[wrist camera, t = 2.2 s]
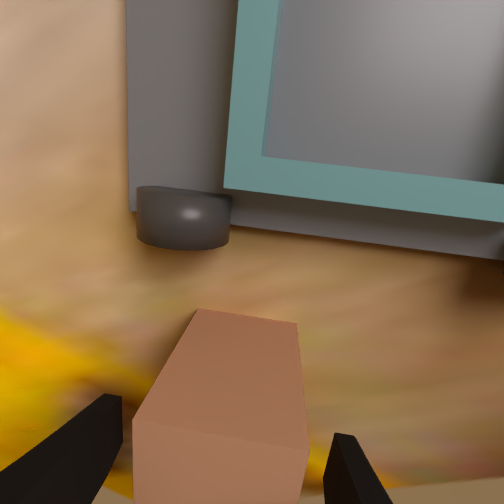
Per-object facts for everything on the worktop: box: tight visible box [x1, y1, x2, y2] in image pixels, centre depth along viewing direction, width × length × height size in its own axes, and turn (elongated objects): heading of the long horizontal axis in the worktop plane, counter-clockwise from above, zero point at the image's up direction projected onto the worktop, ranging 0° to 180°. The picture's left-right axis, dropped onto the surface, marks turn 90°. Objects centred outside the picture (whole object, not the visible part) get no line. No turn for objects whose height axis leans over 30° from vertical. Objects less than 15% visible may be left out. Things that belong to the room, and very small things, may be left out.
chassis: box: [126, 0, 504, 275], centre depth 8 cm, size 18×14×3 cm
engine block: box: [132, 309, 310, 504], centre depth 11 cm, size 4×4×6 cm
